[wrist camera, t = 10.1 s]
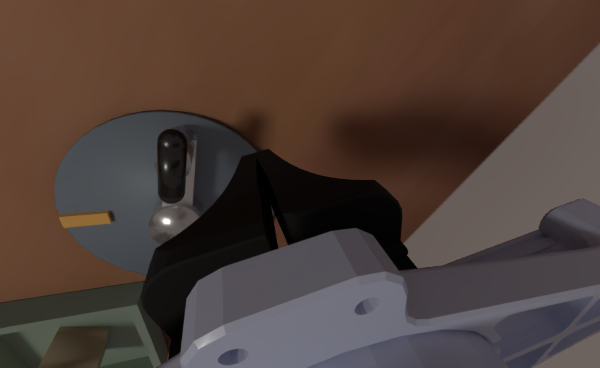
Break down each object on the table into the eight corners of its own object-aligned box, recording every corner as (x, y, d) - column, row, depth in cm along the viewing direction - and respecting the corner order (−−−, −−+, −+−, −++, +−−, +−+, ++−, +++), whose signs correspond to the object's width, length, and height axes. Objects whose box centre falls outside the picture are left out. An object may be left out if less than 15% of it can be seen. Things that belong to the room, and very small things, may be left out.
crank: (201, 230, 22) (197, 281, 18) (154, 229, 21) (137, 283, 16) (212, 111, 17) (210, 140, 13) (151, 100, 16) (126, 128, 11)
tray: (143, 281, 24) (137, 304, 22) (168, 350, 31) (164, 373, 29) (-34, 308, 21) (-61, 338, 19) (37, 380, 28) (22, 408, 25)
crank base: (278, 111, 19) (280, 114, 19) (272, 258, 27) (273, 265, 27) (13, 108, 15) (2, 112, 14) (99, 284, 23) (95, 292, 22)
